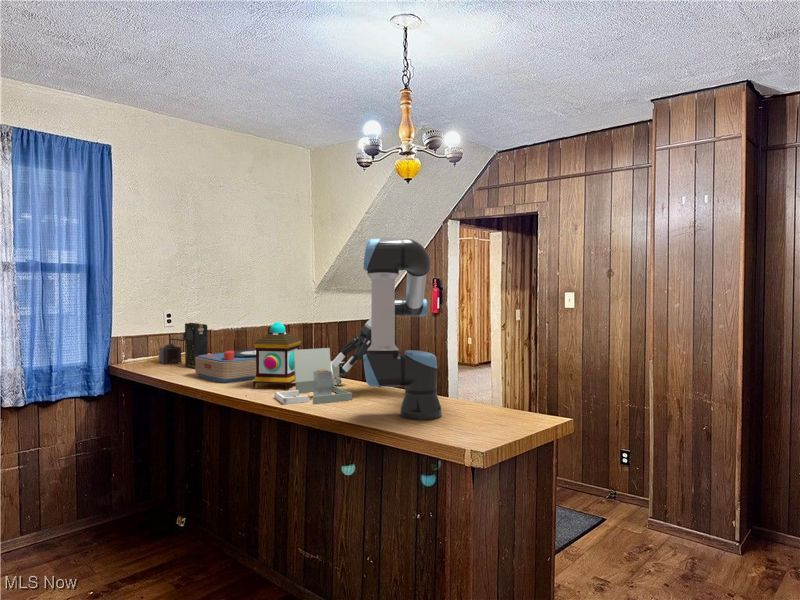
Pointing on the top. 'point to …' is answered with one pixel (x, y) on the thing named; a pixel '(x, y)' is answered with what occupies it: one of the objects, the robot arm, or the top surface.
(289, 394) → the dock
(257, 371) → the decorative lantern
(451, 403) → the top surface
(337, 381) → the pneumatic valve
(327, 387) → the block
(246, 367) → the record player
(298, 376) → the case
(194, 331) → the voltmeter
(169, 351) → the dark handled box
